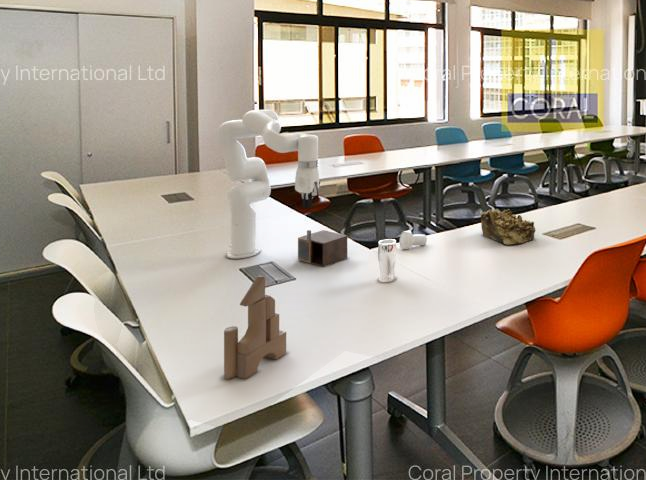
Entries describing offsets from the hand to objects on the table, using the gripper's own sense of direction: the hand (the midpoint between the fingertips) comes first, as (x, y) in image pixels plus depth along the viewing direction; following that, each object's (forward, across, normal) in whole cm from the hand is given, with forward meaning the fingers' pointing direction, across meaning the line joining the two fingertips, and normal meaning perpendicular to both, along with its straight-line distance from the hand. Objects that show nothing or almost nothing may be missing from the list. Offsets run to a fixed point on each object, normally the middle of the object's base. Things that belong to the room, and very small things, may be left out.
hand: (307, 208), depth 222 cm
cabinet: (+25, -2, +9) cm, 26 cm away
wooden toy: (+24, +54, -55) cm, 81 cm away
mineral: (+24, +50, +76) cm, 94 cm away
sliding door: (+24, -5, +3) cm, 25 cm away
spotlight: (+24, +21, +40) cm, 51 cm away
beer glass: (+24, +39, +7) cm, 47 cm away
